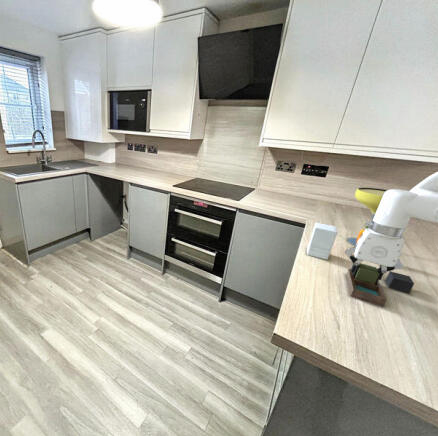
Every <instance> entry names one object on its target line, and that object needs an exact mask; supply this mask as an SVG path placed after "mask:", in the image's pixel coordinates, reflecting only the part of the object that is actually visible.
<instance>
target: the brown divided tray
mask: <svg viewBox="0 0 438 436" xmlns="http://www.w3.org/2000/svg"><path fill="white" fill-rule="evenodd" d="M346 280H347V286H348V291H349V296H350V297H352V298H355V299H358V300H361V301H364V302H367V303H371V304H374V305H377V306H380V307H384V305H385V304H386V302H387V297H386V295H385V293H384V292H385V291H384V290H383V288H382V285H381V282H380V280H378V282H377V283H376V282H375V284H372V283H368V282H365V281H361V280H358V279H355V276H353V275H352V272H351V268H347V272H346Z"/></svg>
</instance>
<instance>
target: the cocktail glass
mask: <svg viewBox="0 0 438 436" xmlns="http://www.w3.org/2000/svg"><path fill="white" fill-rule="evenodd" d="M387 190H388V189H384V188H377V187H376V188H375V187H358V188H357V189H356V191H355V193H354V196H355V199H356V200H357V201H358V202H359V203H361V204H362V205H363V206H365V207H367V208H368V209H369V211H370V213H371V214H372V218H371V220H370V222H371V221H372V220H373V218H374V216H375V214H376V211H377V209H378V207H379V204H380V202H381V200H382V197H383V195H384V193H385V192H386V191H387ZM357 238H358V237H357ZM357 238H356V237H350V238H349V237H348V239H347V241H348V243H350V244H351V245H353V246H356V241H357Z"/></svg>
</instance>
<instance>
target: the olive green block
mask: <svg viewBox="0 0 438 436" xmlns="http://www.w3.org/2000/svg"><path fill="white" fill-rule="evenodd" d="M377 269H378V268H377V267H376V266H374V265H373V266H372V265H369V264H365V263H363V262H361V263H360V264H359V269H358V271H357V274H356V276H355V279H358V280H361V281H365V282H368V283H372V284H375V282H376V280H377V278H378V276H379V272H378V270H377Z"/></svg>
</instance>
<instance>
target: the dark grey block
mask: <svg viewBox="0 0 438 436" xmlns="http://www.w3.org/2000/svg"><path fill="white" fill-rule="evenodd" d="M384 281H385V283H386V286H387V288H388V289H392V290H394V291H395V290H396V291H398V292H403V293H405V294H410V292H411V290H412V289H413V287H414V285H415V282H414V281H413V279H412V278H411V276H410V275H406V274H403V273H398V272H395V271H388V274H387V276H386V277H385V280H384Z"/></svg>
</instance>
